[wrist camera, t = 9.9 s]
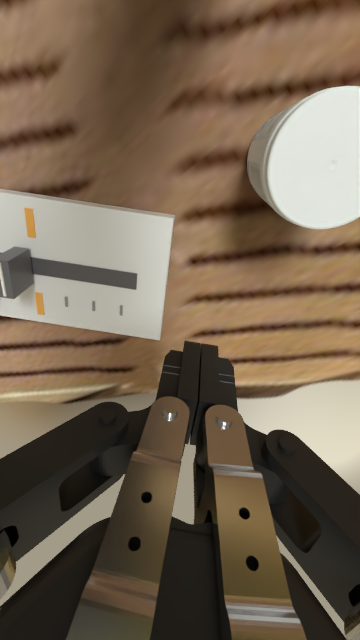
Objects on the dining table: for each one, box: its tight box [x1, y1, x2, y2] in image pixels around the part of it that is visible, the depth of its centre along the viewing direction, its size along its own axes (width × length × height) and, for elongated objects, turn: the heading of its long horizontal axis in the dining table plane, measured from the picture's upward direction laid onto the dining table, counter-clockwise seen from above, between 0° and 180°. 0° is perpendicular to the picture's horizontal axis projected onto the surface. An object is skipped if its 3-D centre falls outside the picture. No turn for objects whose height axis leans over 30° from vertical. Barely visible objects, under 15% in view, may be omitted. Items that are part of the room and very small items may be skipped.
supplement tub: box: [247, 86, 360, 229], centre depth 28 cm, size 10×10×15 cm
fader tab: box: [0, 246, 34, 299], centre depth 39 cm, size 5×2×5 cm, turn 173°
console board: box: [0, 189, 175, 340], centre depth 42 cm, size 18×28×4 cm, turn 83°
